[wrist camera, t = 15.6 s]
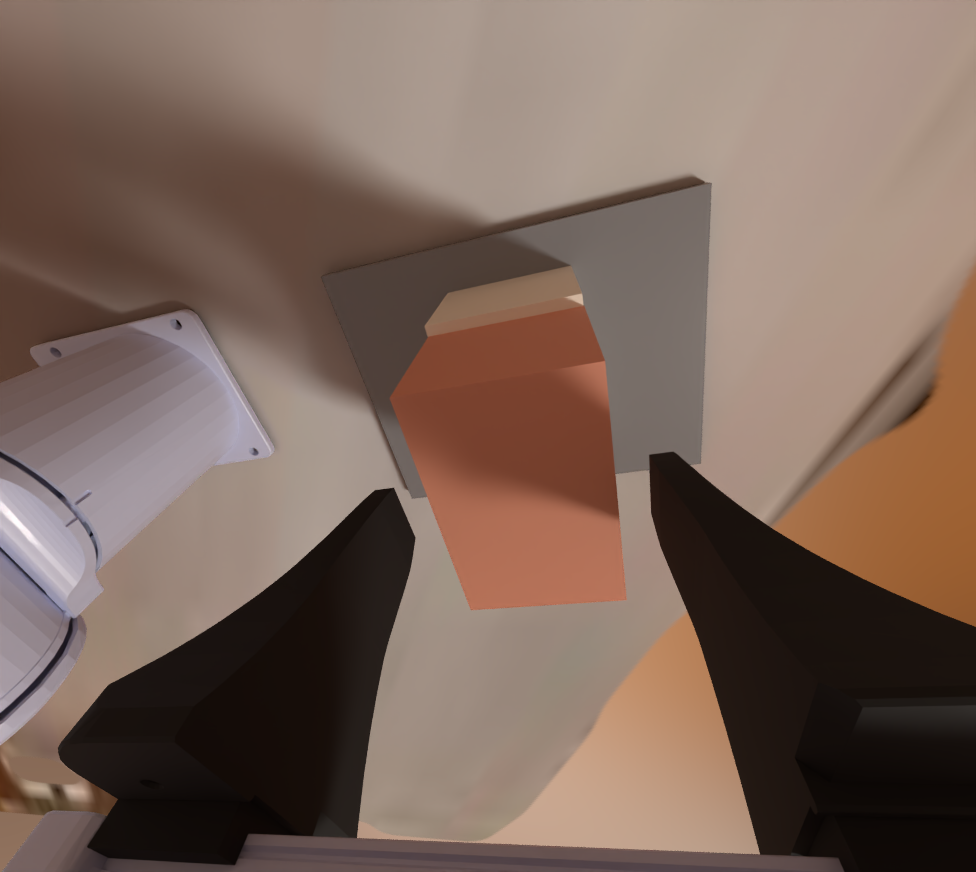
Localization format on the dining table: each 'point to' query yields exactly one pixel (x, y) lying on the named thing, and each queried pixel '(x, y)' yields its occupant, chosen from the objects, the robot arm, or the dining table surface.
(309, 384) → the dining table surface
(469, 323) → the cream brick
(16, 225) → the dining table surface
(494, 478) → the red brick
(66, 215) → the dining table surface
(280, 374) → the dining table surface
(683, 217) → the base plate
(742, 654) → the robot arm
